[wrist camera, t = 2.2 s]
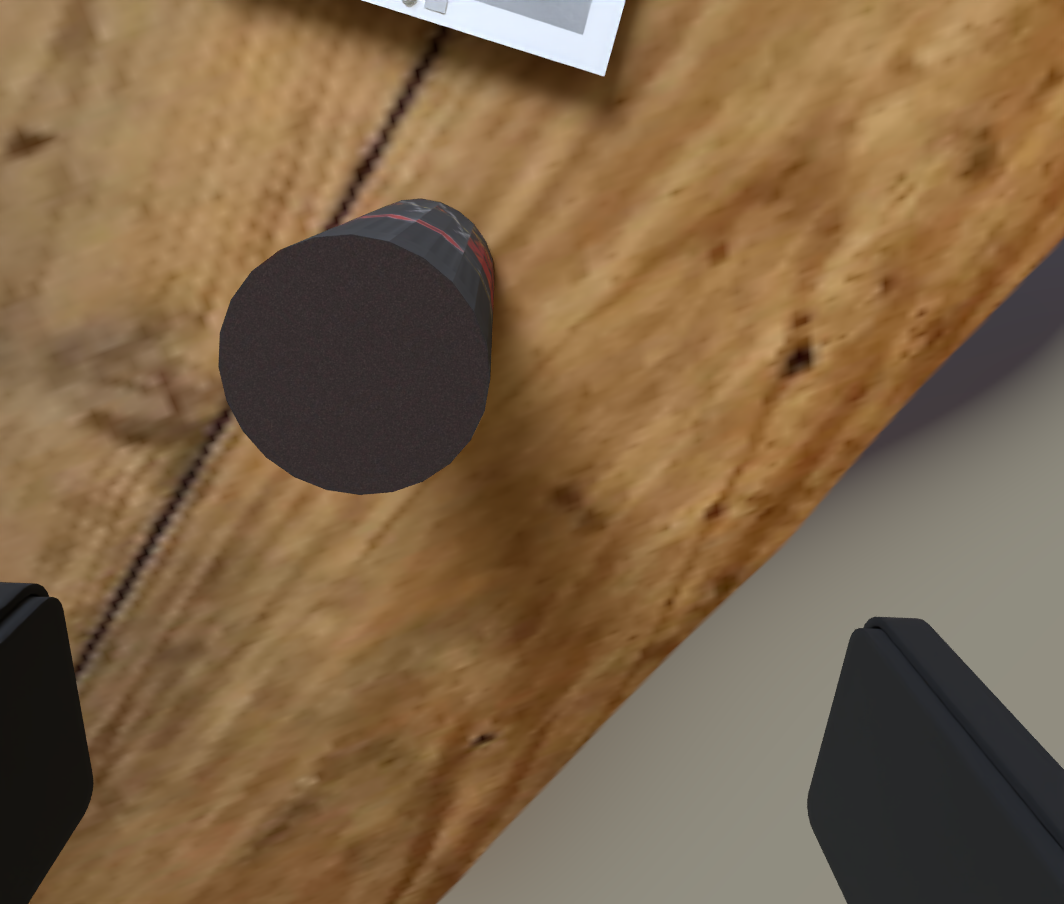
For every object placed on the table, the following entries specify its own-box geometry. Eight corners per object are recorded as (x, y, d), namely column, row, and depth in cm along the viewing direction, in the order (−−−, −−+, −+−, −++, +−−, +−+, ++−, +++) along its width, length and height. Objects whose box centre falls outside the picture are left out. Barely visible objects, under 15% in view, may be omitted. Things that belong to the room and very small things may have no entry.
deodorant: (367, 177, 29) (245, 194, 15) (513, 226, 30) (524, 285, 16) (332, 322, 31) (197, 455, 17) (470, 364, 32) (448, 523, 18)
